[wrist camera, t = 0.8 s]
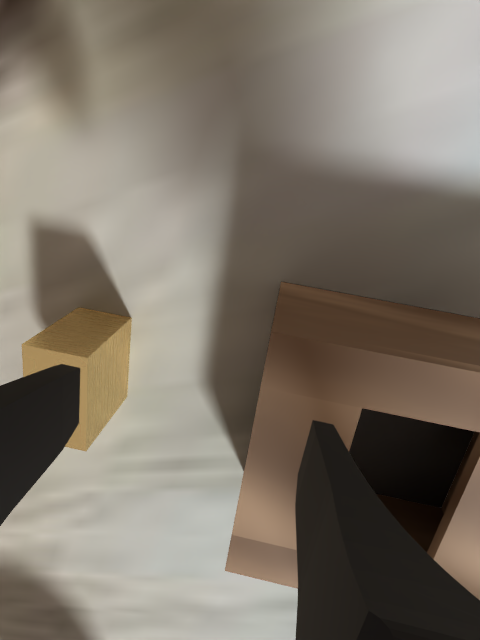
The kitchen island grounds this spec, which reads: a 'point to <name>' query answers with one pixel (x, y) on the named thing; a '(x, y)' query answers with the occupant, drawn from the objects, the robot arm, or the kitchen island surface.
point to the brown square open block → (344, 411)
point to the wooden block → (86, 364)
